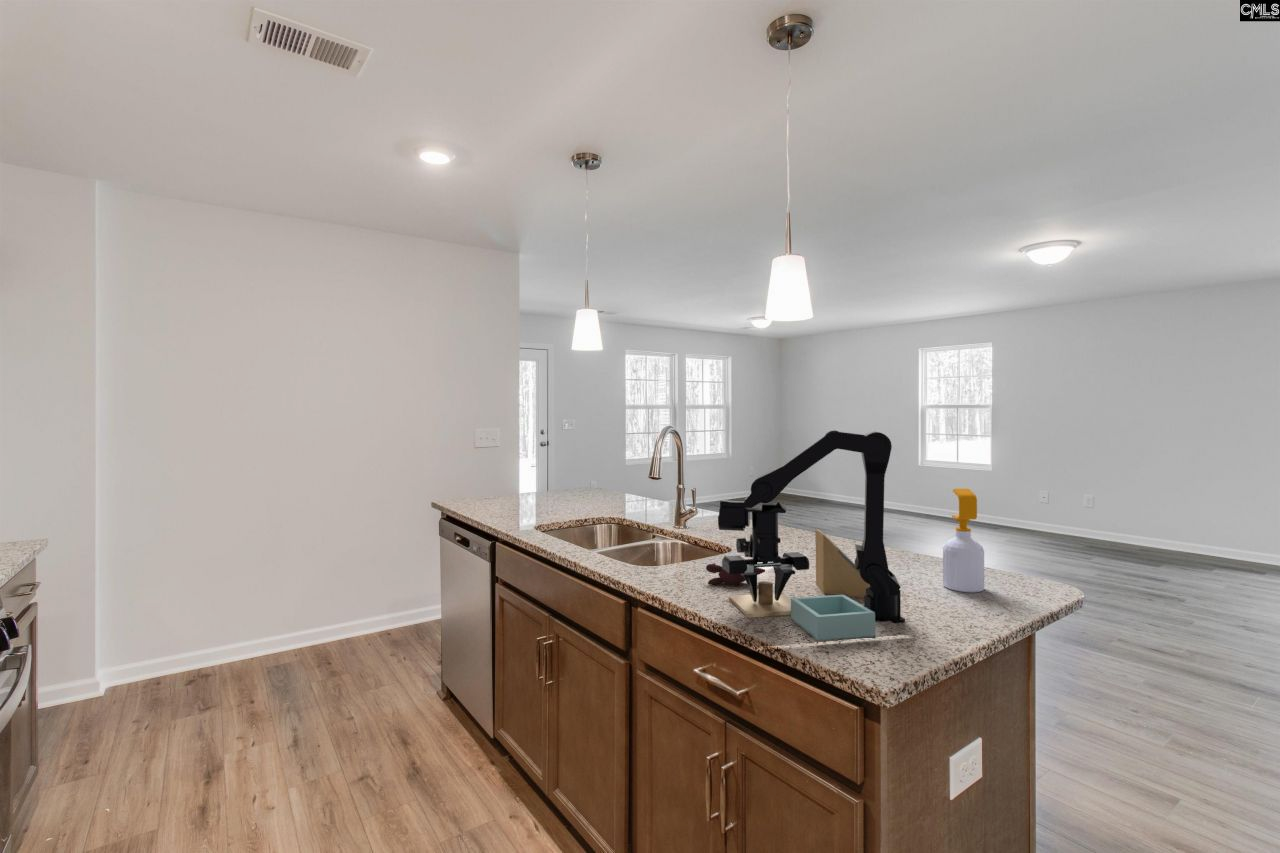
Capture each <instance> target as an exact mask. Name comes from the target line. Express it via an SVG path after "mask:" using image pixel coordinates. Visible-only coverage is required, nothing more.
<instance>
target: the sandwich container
mask: <svg viewBox="0 0 1280 853" xmlns="http://www.w3.org/2000/svg"><path fill="white" fill-rule="evenodd" d="M814 534H815V538H814V539H815V585H816V586H817V587H818V589H819V590H820V591H821V592H822V593H823V594H827V595H829V594H831V595H832V594H833V595H845V596H847V597H864V595H866V588H869V587H870V584H868V583H866V582H865V581H864V580H863V579H862V578H861V576H860V572H859V569H858V570H857V569H856V566H855V562H853V561H852V560H851V559H850V558H849V557H848V556H847V554H845V553H844V551H842V550H841V549H840V547H839V546H838V545H836V543H835V542H834V541H832V539H830V537H828V536H827V535H826V534H825V533H824V532H823V531H821V530H819V529H818V528H815V533H814Z"/></svg>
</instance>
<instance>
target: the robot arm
mask: <svg viewBox="0 0 1280 853" xmlns="http://www.w3.org/2000/svg"><path fill="white" fill-rule="evenodd" d="M892 447H893V446H892V441H891V439H890V438H889V437H888V436H887V435H886V434H885V433H882V432H879V431H875V430H874V431H869V432H868V433H865V434H860V433H853V432H852V433H851V432H844V431H838V430H835V429H833V430H829V431H827V432H826V433H825V435H823V436H822V437H821V438H820V439H818V440H817V441H815V442H814V443H813V444H811V445H809V446H808V447H807V448H805V449H804V450H802V451H801V452H800V453H798V454H797V455H796V456H794V457H793V458H791V459H790V460H789V461H788V462H786V463H785V464H783V465H781V466H779V467H776V468H775V469H771V470H769V471H768V472H766V473H764V474H761V475H759V476H758V477H757V478H755V480H754V481H753V482H752V484H751V485H750V486H751V487H750V494H749V495H748V496H746V497H745V498H744V501H743V500H742V501H740V500H728V499H721V500H720V502H719V510H718V516H717V525H718V530H720V531H734V532H735V531H737V532H745V530H746V527H750V524H751V523H752V524H751V529H752V531H751V532H752V533H751V534H750V535H749V540H747V538H746V537H741V538H740V537H739V538H736V541H735V546H736V552H737V553H738V554H739V553H740V554H741V553H744V557H745V558H748V559H745V558H743V556H741V555H737V554H736V555H724V556H723V558H722V561H721V566H722V568H723V569H724V570H725V571H727V572H728V573H729V574H741V575H742V576H744V578H745V580H746V581H745V582H746V584H747V586H748V587H747V588H748V590H749V592H750V595H751V596H752V599H753V601H754V602H756V601H757V594H758V575H757V574H756V573H754V568H756V567H757V568H771V567H772V568H773V570H774V572H773V573H774V589H773V593H774V594H775V600H776V601H778V600H779V598H780V596H781V593H783V591H784V589H785V587H786V585H787V583H788V582H789V580H790V578H791V577H792V575H795V574H796V571H806V570H807V571H808V570H810V560H809V558H808V557H807V556H806V555H805V554H802V553H800V552H798V551H794V552H784V553H783V554H782V556H780V555H779V544H781V537H779V514H786V512H787V508H786V507H785V506H784V505H783V504H782V502H781V500H778V501H777V502H776V503H774V504H772V503H771V502H772V501H774V500H775V499H776V497H777V496H779V495H780V494H781V492H782V491H783V490H784V489H785V488H786V487H787V486H788V485H789V484H790V483H791V482H792V481H793V480H795V479H796V478H797V477H799V476H800V475H801V474H803V473H804V472H805V471H807V470H808V469H810V468H811V467H813V466H814V465H815V464H817V463H818V462H819V461H821V460H822V459H824V458H825V457H826V456H828V455H829V454H831V453H833V452H834V451H835V450H844V451H849V452H856V453H861V458H862V464H863V468H864V469H863V470H864V475H865V477H864V478H865V479H864V482H865V483H864V519H863V520H864V522H863V526H864V528H863V540H862V543H861V545H860V544H855V545H854V547H855V551H856V552H855V553H856V557H855V559H854V562H853V563H854V564H855V566H856V569H857V570H858V569H859V572H860V576H861V578H862V579H863V580H864V581H865V582H866V583H868V584H870V587H869V588H866V595H864V596H863V606H864V607H866V608H868V609H870V610H871V611H873V612H875V622H879V623H880V622H881V623H883V622H891V623H901V622H902V623H903V622H906V618H905V617H903V616H901V603H902V602H901V601H902V600H901V597H902V596H901V585H900V583H899V581H898V579H897V577H896V575H895V574H894V573H893V572H892V571H891V570H890V569H889V565H888V559H887V553H886V549H885V543H884V522H885V521H884V516H885V512H884V511H885V477H886V472H887V468H888V465H889V461H890V458H891V452H892V449H893V448H892ZM760 503H761V507H755V506H757V505H759V504H760ZM769 503H771V504H769ZM793 568H794V569H795V570H794V569H793Z"/></svg>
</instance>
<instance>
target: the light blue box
mask: <svg viewBox="0 0 1280 853" xmlns="http://www.w3.org/2000/svg"><path fill="white" fill-rule="evenodd" d="M790 599H791V615H790V620H791V621H792V622H794V623H795V624H796V625H798V626H799V627H800V628H801V629H802V630H804V631H805V632H806V633H808V634H809V635H811V636H812V637H813V638H814V639H815V640H816V641H827V640H839V639H853V638H855V639H856V638H872V639H876V621H875V612H873V611H871V610H870V609H868V608H866V607H864V604H863V605H862V604H861V603H859V602H857V600H853V599H852V598H850V596H846V595H844V594H833V595H832V594H831V595H818V596H803V597H791V598H790Z"/></svg>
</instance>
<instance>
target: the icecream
mask: <svg viewBox="0 0 1280 853" xmlns="http://www.w3.org/2000/svg"><path fill="white" fill-rule="evenodd" d="M705 570H706V571H707V572H709V573H711V574H717V573H718V577H713V578H711V579H709V580H708V581H707V585H708V584H712V585H711V586H719V585H718V584H721V585H722V584H723V583H724V584H726V585H727V584H728V586H731V585H737V586H739V585H740V586H741V585H742V583H743V582H746V580H745V578H744V576H742V575H741V574H729V573H728V572H727V571H725V570H724V569H723V568H722V565H718V564H716V563H709V564H707V565H706V566H705ZM765 572H766V569H765V568H762V567H756V568H754V573H756V574H757V576H759V575H761V574H763V573H765Z"/></svg>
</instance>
